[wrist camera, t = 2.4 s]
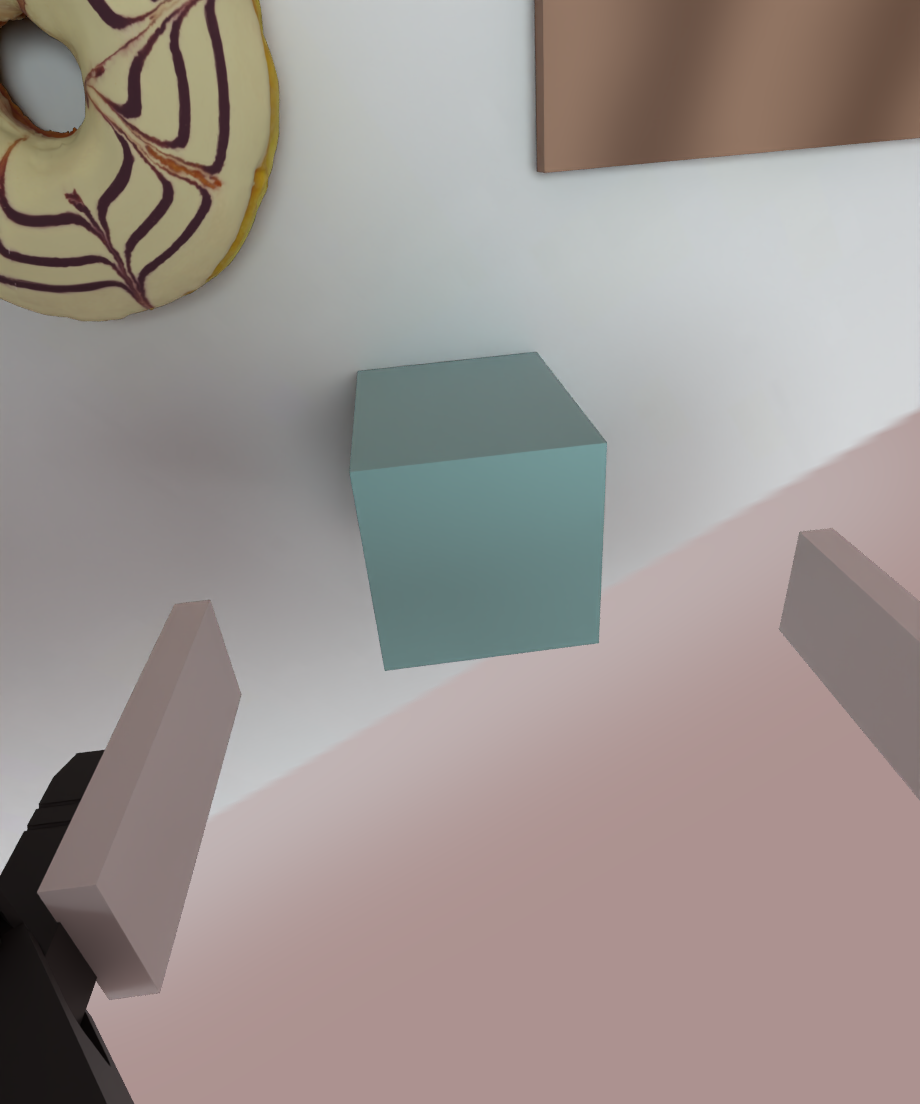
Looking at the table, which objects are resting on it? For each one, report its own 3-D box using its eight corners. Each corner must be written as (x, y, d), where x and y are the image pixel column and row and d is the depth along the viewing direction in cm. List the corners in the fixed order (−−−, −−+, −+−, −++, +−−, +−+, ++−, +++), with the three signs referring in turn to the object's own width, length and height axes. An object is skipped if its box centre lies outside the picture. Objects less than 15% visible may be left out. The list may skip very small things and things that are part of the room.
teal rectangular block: (382, 528, 24) (384, 670, 18) (357, 371, 21) (349, 472, 15) (539, 510, 25) (598, 643, 18) (536, 351, 22) (607, 442, 15)
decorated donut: (-166, -359, 13) (-339, -522, 10) (344, -28, 17) (337, -71, 13) (-191, 179, 18) (-318, 186, 14) (218, 355, 21) (189, 392, 18)
